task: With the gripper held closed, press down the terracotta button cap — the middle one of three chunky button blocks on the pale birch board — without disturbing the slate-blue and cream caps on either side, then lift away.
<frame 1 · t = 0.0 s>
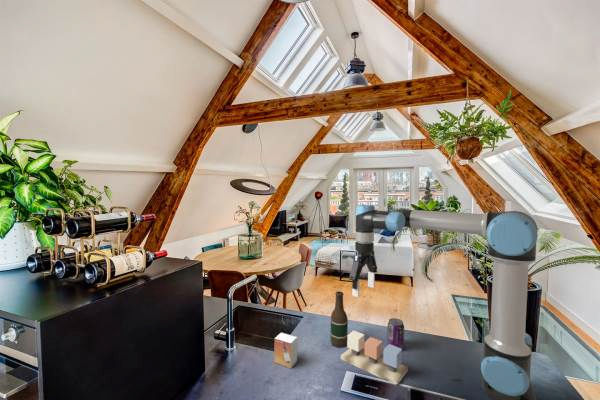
hand: (363, 291, 120), 28 cm above the counter, fingers open, 13 cm apart
board: (373, 364, 115), on the counter
slate button: (392, 355, 110), point 7 cm above the counter, slide at 0.0 cm
small box: (285, 362, 117), on the counter
terracotta button: (373, 348, 115), point 7 cm above the counter, slide at 0.0 cm
cream button: (355, 340, 120), point 7 cm above the counter, slide at 0.0 cm
beer bottle: (338, 343, 131), on the counter
beverage can: (395, 347, 128), on the counter
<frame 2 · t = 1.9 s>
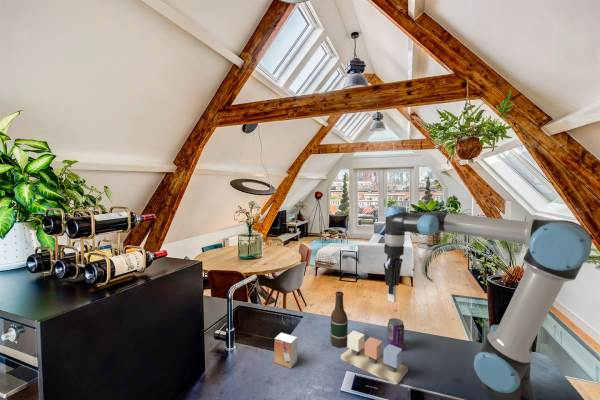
hand: (391, 300, 116), 25 cm above the counter, fingers closed
nothing on the counter moved.
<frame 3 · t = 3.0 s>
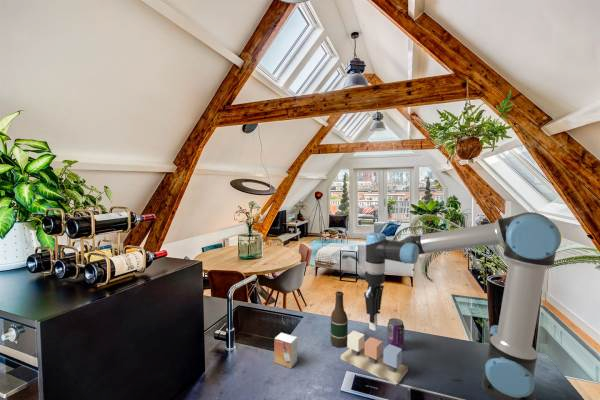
hand: (373, 329, 115), 15 cm above the counter, fingers closed
nothing on the counter moved.
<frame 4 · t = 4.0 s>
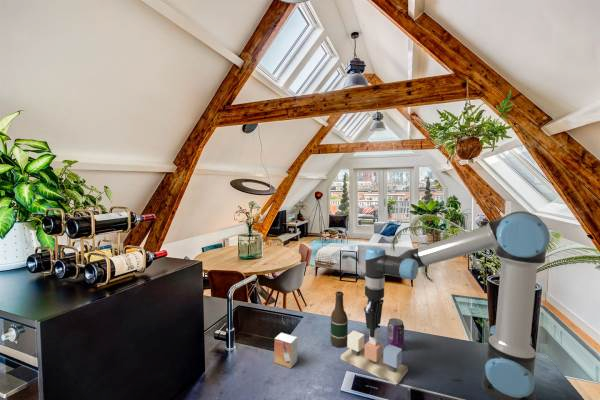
hand: (373, 343, 115), 9 cm above the counter, fingers closed
terracotta button: (373, 350, 115), point 6 cm above the counter, slide at 1.0 cm, touching gripper
everything else where it was.
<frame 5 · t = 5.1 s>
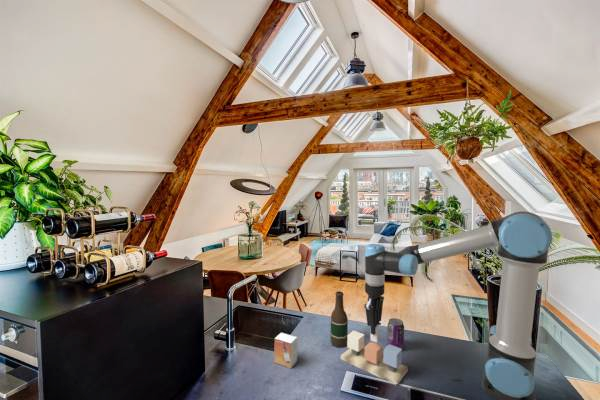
hand: (374, 340, 114), 10 cm above the counter, fingers closed
terracotta button: (373, 352, 115), point 5 cm above the counter, slide at 2.0 cm
everything else where it was.
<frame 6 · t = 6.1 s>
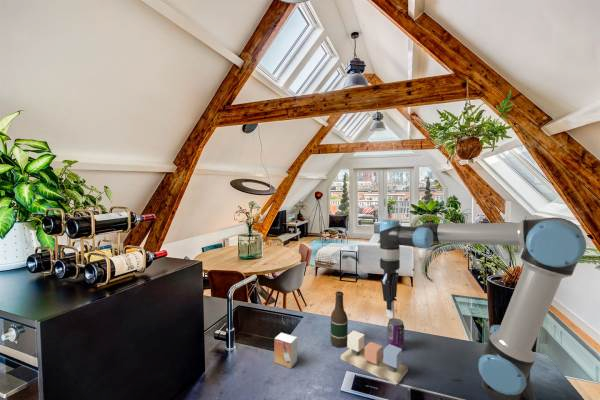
hand: (390, 316, 114), 20 cm above the counter, fingers closed
nothing on the counter moved.
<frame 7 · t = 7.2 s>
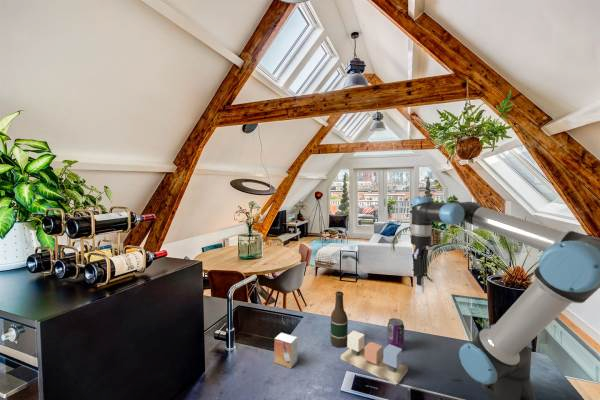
hand: (419, 291, 116), 29 cm above the counter, fingers closed
nothing on the counter moved.
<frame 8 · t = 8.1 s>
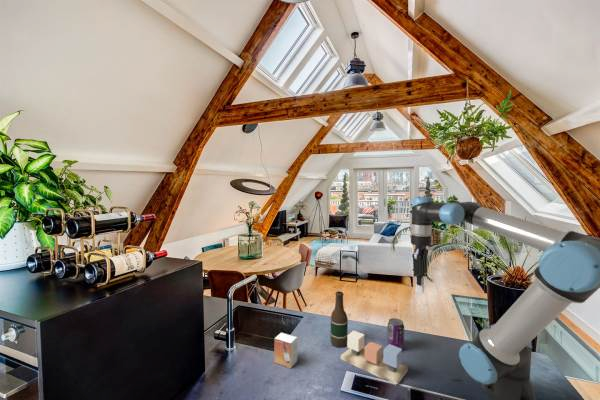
hand: (419, 291, 116), 29 cm above the counter, fingers closed
nothing on the counter moved.
at the end: terracotta button slide at 2.0 cm; slate button slide at 0.0 cm; cream button slide at 0.0 cm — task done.
